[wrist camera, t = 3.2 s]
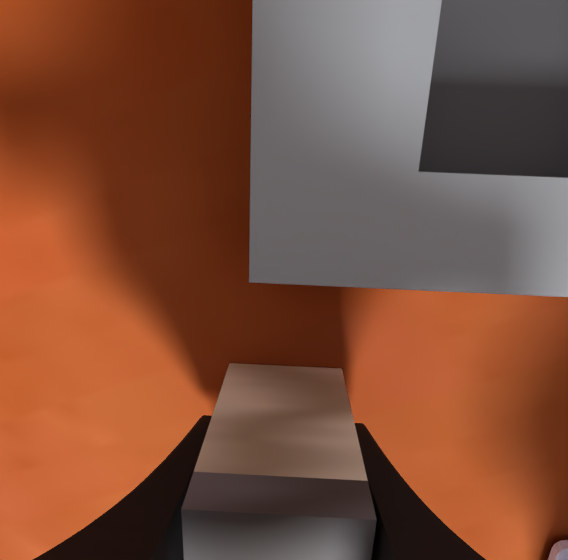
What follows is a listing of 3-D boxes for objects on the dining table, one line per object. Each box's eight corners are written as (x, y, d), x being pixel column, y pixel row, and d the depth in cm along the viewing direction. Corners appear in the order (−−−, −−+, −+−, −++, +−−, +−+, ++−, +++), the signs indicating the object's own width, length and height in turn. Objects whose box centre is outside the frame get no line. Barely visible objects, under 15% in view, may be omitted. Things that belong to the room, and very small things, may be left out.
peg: (341, 368, 13) (376, 519, 8) (333, 460, 15) (357, 651, 9) (229, 363, 14) (181, 509, 8) (230, 455, 15) (188, 641, 9)
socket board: (887, -235, 9) (1184, -434, 6) (697, 274, 12) (822, 308, 9) (270, -250, 9) (258, -449, 6) (259, 255, 12) (249, 282, 9)
